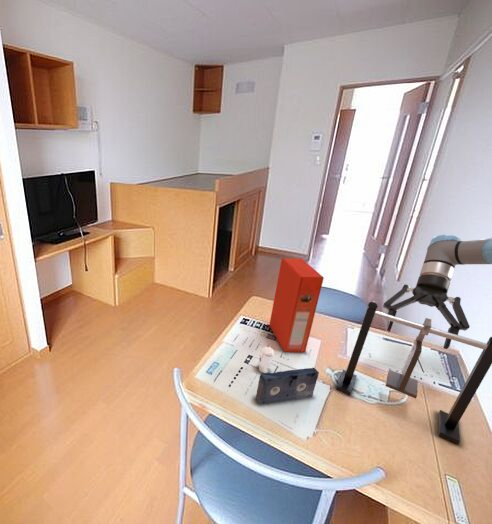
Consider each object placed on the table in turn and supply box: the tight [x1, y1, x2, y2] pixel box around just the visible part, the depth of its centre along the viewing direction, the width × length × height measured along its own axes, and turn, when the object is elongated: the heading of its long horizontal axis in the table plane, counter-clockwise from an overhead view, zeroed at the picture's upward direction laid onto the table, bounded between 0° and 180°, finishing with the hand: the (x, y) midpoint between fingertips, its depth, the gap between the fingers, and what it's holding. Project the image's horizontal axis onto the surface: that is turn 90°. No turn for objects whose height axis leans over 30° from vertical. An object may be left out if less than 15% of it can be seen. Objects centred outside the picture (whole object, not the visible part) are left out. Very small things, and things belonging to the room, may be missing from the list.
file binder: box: [268, 257, 325, 353], centre depth 118 cm, size 8×17×32 cm, turn 177°
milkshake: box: [258, 342, 275, 374], centre depth 106 cm, size 4×5×10 cm
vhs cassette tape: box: [255, 367, 320, 405], centre depth 94 cm, size 18×3×10 cm, turn 98°
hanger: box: [385, 317, 432, 400], centre depth 87 cm, size 7×8×22 cm
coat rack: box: [335, 301, 492, 446], centre depth 88 cm, size 29×10×32 cm, turn 48°
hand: (416, 338), depth 94 cm, fingers open, 13 cm apart
